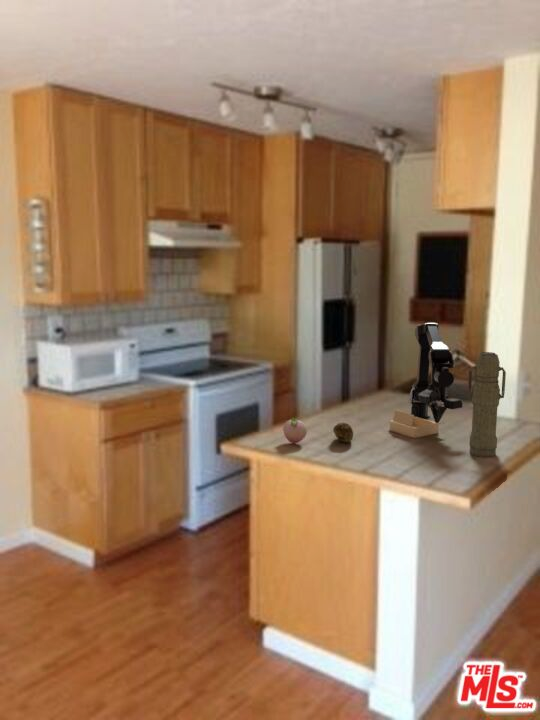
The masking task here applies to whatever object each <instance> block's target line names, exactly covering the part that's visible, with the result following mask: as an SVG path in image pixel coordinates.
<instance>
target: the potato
mask: <svg viewBox="0 0 540 720" xmlns="http://www.w3.org/2000/svg"><path fill="white" fill-rule="evenodd" d="M332 431H333V433H334V436H335V438H336V439H337V440H338V441H340V442H343V443H350V442H351V441H352V440H353V437H354V431H353V428H352V426H351V425H350V424H349V423H347V422H346V423H345V422H339V423H337V424H336V425H334V427H333V430H332Z"/></svg>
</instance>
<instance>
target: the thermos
mask: <svg viewBox="0 0 540 720" xmlns="http://www.w3.org/2000/svg"><path fill="white" fill-rule="evenodd" d="M473 370H475V373H474V376H475V379H474V383H473V386H472V380H473V379H472V378H473ZM501 371H502V382H501V389H500V385H499V377H500V372H501ZM506 373H507V372H506V370H505V368H504V367H501V366H500V359H499V355H498V354H496V352H491V351H490V352H488V351H482V352H480V353H478V355H477V358H476V361H475V365H474V366H471V367H470V368H469V369H468V388H467V389H468V390H467V394H468V395H469V397H471V403H472V421H471V422H472V423H471V431H470V435H469V445H468V446H469V454H470V455H472V456H474V457H478V456H479V458H493V456H494V457H496V456H497V446H498V438H497V422H498V421H497V419H498V408H499V405H500V400H501V399H504V398H505V394H506V393H505V391H506V376H507V375H506ZM500 390H501V391H500ZM500 392H501V393H500Z"/></svg>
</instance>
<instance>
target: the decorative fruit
mask: <svg viewBox="0 0 540 720" xmlns="http://www.w3.org/2000/svg"><path fill="white" fill-rule="evenodd" d="M282 430H283V435H284V436H285V438H286V439H287V441H288V442H289V443H290V444H291V445H292V444H293V445H296V444H297V443H300V442H301V441H303V440H304V439H305V437H306V436H307V432H308V429H307V426H306V424H305V423H304V422H303V421H301V420H299V419H298V418H296V417H294V416H293V418H290V419H289V420H287V421H286V422H285V423H284V425H283V427H282Z"/></svg>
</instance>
